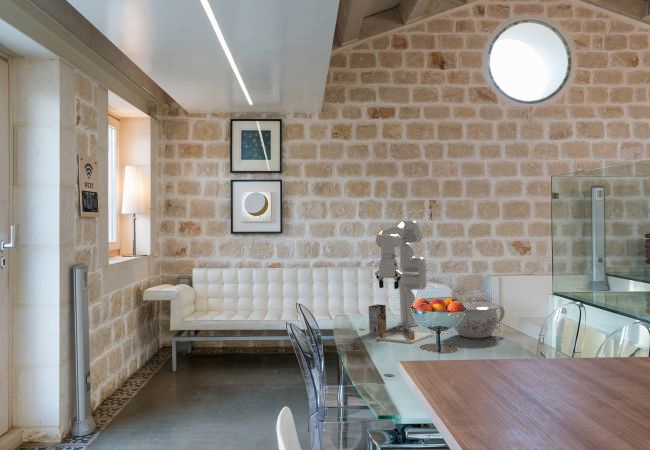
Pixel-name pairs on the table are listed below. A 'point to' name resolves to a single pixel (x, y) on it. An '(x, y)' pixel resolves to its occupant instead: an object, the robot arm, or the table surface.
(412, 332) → the tong arm
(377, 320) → the coffee box
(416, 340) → the plate
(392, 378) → the table surface
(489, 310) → the chamber pot
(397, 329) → the tong base
